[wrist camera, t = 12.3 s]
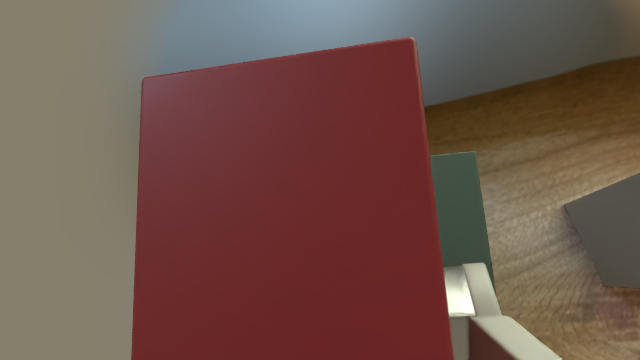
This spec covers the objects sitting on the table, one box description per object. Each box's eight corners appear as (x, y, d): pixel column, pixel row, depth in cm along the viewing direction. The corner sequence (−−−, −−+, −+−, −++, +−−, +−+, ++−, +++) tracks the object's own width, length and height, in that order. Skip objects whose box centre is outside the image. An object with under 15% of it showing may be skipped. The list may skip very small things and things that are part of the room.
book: (331, 398, 18) (112, 775, 4) (320, 209, 20) (139, 76, 6) (428, 397, 17) (512, 842, 4) (407, 201, 19) (415, 32, 6)
